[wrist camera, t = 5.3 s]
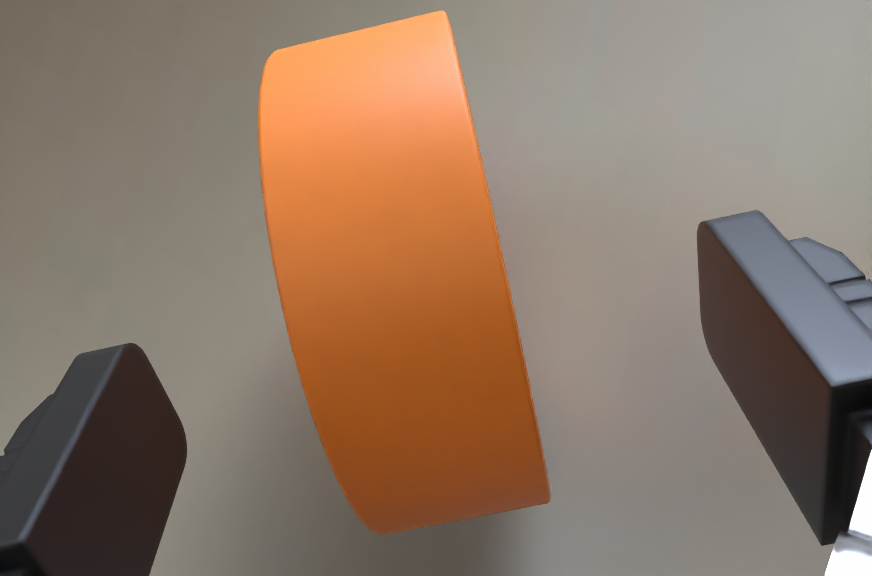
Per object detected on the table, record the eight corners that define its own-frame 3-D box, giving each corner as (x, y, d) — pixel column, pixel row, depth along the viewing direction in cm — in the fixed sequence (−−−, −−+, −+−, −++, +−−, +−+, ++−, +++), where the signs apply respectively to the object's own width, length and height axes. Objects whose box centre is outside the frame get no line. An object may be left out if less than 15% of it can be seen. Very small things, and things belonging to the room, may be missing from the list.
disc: (358, 166, 20) (222, -66, 11) (469, 141, 20) (421, -116, 11) (420, 515, 18) (313, 570, 9) (545, 491, 18) (561, 523, 9)
